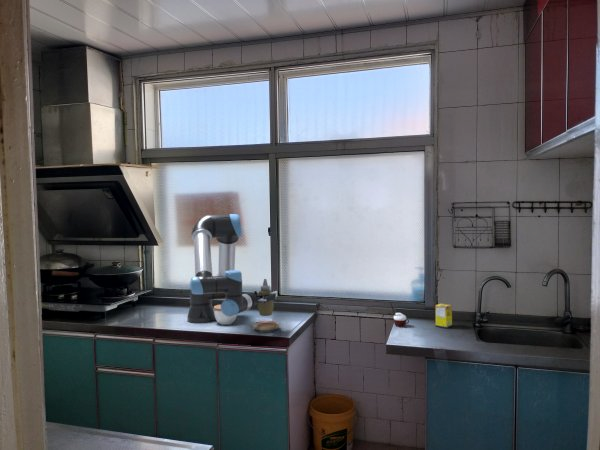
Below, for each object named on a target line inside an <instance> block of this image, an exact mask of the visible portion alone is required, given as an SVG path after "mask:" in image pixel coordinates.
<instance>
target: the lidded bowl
mask: <svg viewBox="0 0 600 450" xmlns="http://www.w3.org/2000/svg"><path fill="white" fill-rule="evenodd" d="M221 304H222V303H221ZM221 304H220V303H219V304H216V305H214V306H213V310H214V315H215V320H216V322H217V323H218V324H219V325H223V326H224V325H232V324H233V323H234V322H235V321H236V319H237V316H238V314H237V315H233V316H226V315H224V314H223V313H222V311H221Z"/></svg>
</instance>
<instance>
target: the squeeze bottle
mask: <svg viewBox="0 0 600 450" xmlns="http://www.w3.org/2000/svg"><path fill="white" fill-rule="evenodd" d="M258 292H259V295H267V294H270V293H272V292H273V291H272V290H271V287H270V285H268V280H267V278H264V279H263V282H262V286H260V290H259V291H258ZM274 307H275V306H274V300H271V301H268V302H266V303H263V301H262V302H260V303H258V304H257V310H258V311H257V312H258V313H259V315H260V316H262V317H269V316H272V315H273V311H274Z"/></svg>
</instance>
